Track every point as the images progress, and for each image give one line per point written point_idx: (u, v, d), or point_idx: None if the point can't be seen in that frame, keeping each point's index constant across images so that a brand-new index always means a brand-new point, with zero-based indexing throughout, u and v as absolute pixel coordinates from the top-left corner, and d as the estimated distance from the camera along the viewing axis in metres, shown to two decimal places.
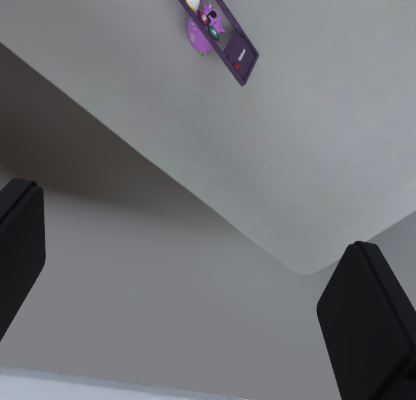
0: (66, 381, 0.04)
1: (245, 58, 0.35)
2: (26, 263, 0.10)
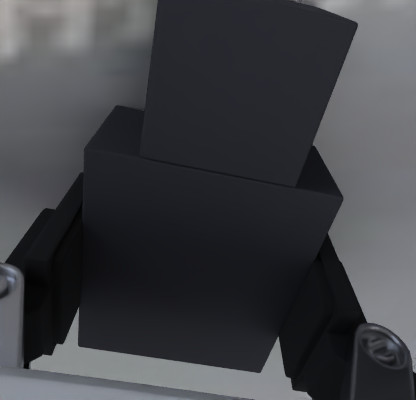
0: (67, 381, 0.04)
1: None
2: None
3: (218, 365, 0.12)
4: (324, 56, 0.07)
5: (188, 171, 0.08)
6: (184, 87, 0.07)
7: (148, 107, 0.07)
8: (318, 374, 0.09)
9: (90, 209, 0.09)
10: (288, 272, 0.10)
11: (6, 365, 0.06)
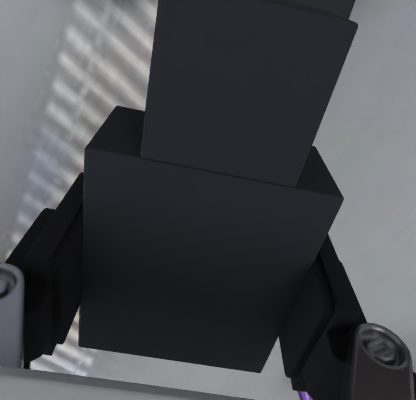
0: (66, 381, 0.04)
1: None
2: None
3: (218, 365, 0.12)
4: (324, 57, 0.07)
5: (188, 172, 0.08)
6: (185, 87, 0.07)
7: (148, 108, 0.08)
8: (318, 374, 0.09)
9: (90, 209, 0.09)
10: (288, 272, 0.10)
11: (6, 365, 0.06)
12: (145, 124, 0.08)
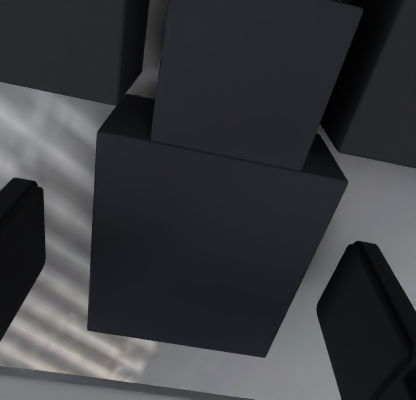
0: (66, 381, 0.04)
1: None
2: (26, 263, 0.10)
3: (224, 350, 0.12)
4: (330, 41, 0.07)
5: (197, 155, 0.08)
6: (195, 71, 0.07)
7: (159, 92, 0.08)
8: None
9: (101, 193, 0.09)
10: (293, 256, 0.10)
11: None
12: (156, 108, 0.08)
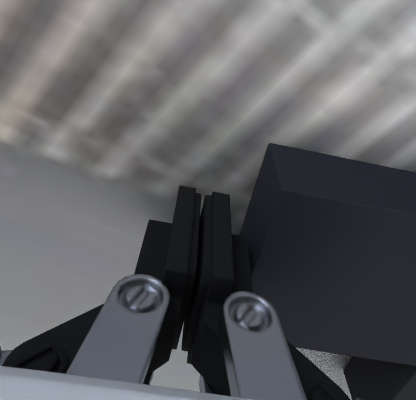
0: (67, 381, 0.04)
1: None
2: None
3: None
4: None
5: None
6: None
7: None
8: (198, 343, 0.09)
9: None
10: (359, 347, 0.13)
11: (127, 381, 0.06)
12: None
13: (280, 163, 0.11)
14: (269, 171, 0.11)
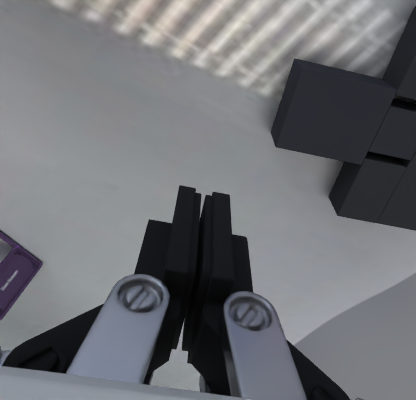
0: (66, 381, 0.04)
1: (16, 280, 0.36)
2: None
3: (282, 129, 0.27)
4: (405, 154, 0.28)
5: (381, 120, 0.27)
6: (407, 120, 0.27)
7: (404, 110, 0.26)
8: (198, 343, 0.09)
9: (375, 87, 0.26)
10: (333, 152, 0.28)
11: (127, 381, 0.06)
12: (400, 109, 0.26)
13: (300, 63, 0.26)
14: (295, 68, 0.27)
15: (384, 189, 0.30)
